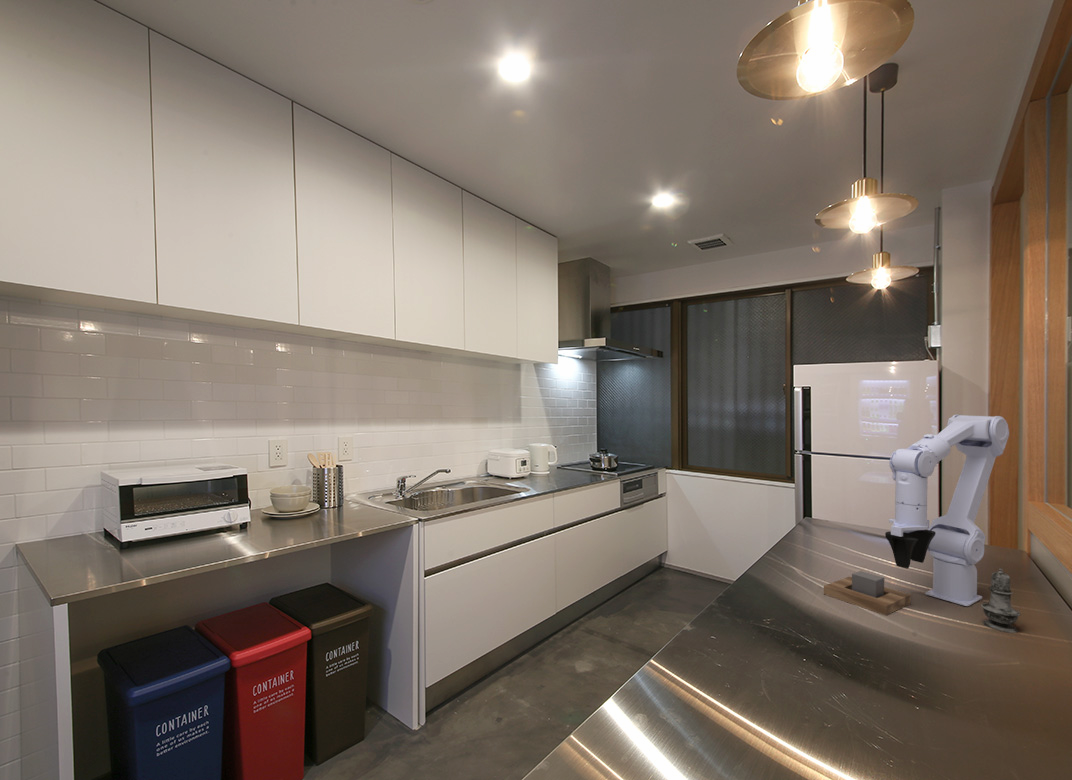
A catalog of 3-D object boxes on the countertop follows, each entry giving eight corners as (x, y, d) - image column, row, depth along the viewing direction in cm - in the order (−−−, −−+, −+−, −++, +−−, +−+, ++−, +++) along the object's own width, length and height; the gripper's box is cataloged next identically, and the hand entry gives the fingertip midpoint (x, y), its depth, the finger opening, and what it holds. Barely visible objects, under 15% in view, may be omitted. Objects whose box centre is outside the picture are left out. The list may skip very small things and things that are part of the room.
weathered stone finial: (1028, 635, 99) (1028, 574, 99) (993, 631, 100) (994, 571, 100) (1006, 621, 104) (1007, 564, 105) (974, 618, 106) (974, 562, 106)
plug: (860, 594, 118) (860, 570, 118) (883, 601, 114) (884, 577, 114) (851, 597, 116) (852, 573, 116) (875, 605, 112) (875, 580, 112)
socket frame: (849, 584, 124) (849, 576, 124) (910, 603, 113) (910, 594, 113) (823, 594, 117) (823, 585, 117) (886, 615, 106) (886, 606, 106)
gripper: (904, 496, 119) (903, 554, 119) (875, 502, 111) (874, 564, 111) (940, 502, 113) (939, 562, 113) (913, 509, 105) (912, 574, 105)
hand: (910, 564), depth 111 cm, fingers open, 7 cm apart
